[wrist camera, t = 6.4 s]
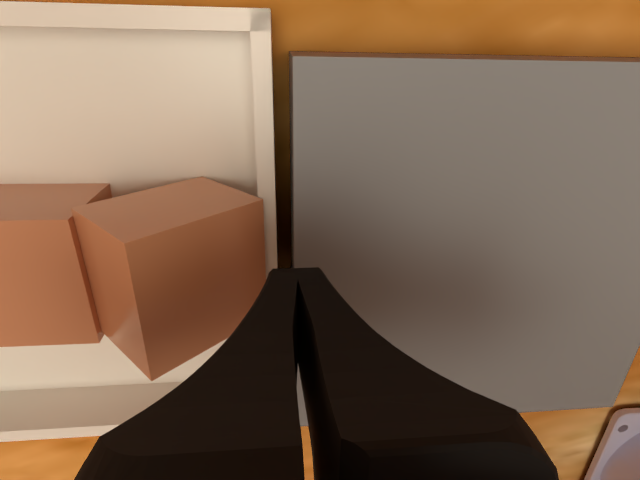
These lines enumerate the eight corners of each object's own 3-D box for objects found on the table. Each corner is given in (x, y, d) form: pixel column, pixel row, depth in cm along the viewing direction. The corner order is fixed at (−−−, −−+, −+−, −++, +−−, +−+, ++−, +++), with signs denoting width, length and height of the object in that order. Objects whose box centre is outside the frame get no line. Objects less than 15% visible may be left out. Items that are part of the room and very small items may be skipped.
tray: (281, 376, 18) (281, 424, 16) (-13, 392, 17) (-56, 445, 15) (271, 13, 12) (270, 8, 10) (-182, 1, 11) (-296, -8, 9)
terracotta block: (-45, 349, 12) (13, 292, 15) (99, 343, 13) (130, 289, 15) (-102, 221, 10) (-24, 184, 13) (67, 219, 11) (109, 183, 14)
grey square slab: (557, 345, 19) (612, 406, 16) (292, 358, 18) (295, 426, 15) (653, 57, 14) (763, 64, 11) (289, 51, 13) (293, 55, 10)
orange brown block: (212, 281, 15) (267, 315, 14) (101, 331, 13) (151, 381, 11) (202, 176, 14) (263, 199, 12) (70, 207, 11) (124, 243, 9)
